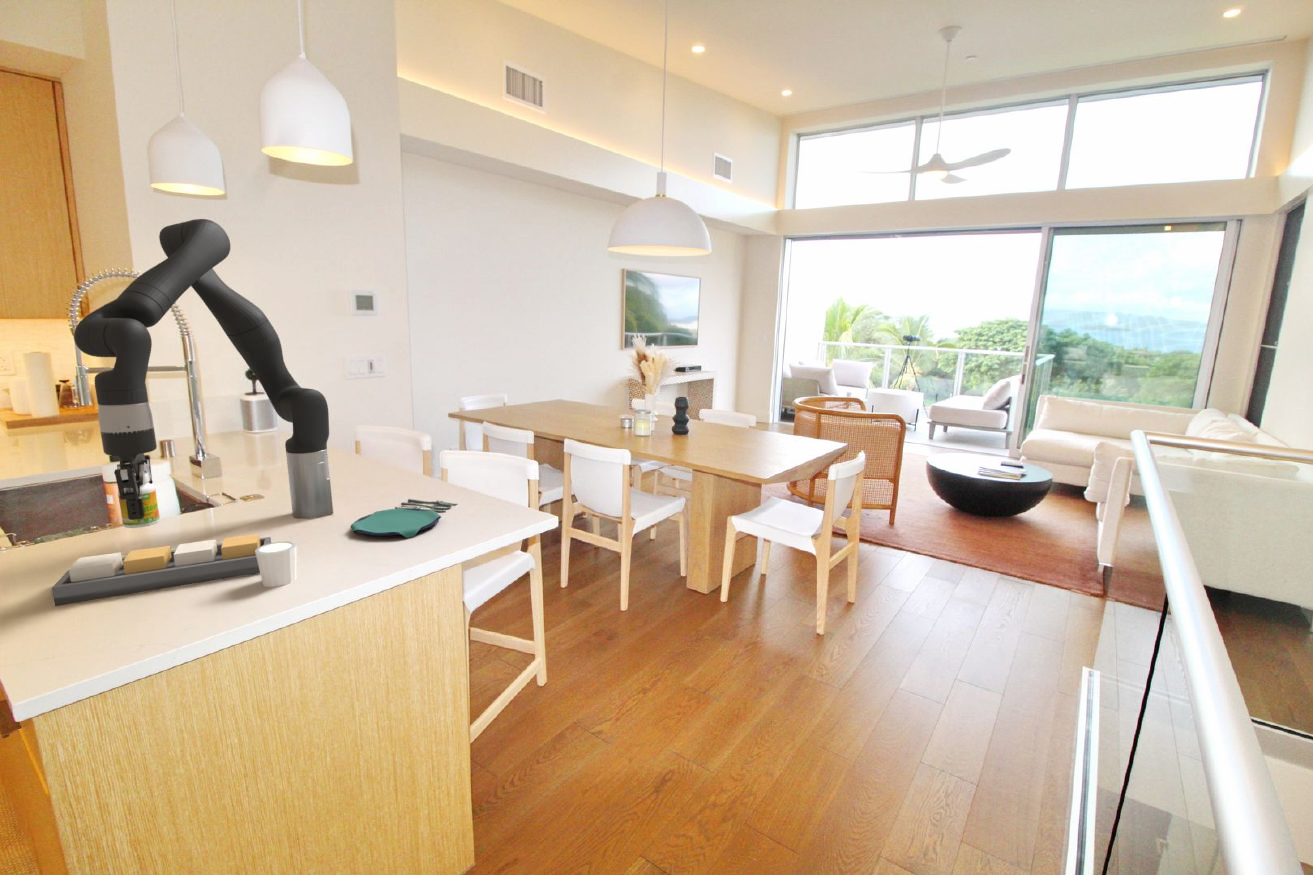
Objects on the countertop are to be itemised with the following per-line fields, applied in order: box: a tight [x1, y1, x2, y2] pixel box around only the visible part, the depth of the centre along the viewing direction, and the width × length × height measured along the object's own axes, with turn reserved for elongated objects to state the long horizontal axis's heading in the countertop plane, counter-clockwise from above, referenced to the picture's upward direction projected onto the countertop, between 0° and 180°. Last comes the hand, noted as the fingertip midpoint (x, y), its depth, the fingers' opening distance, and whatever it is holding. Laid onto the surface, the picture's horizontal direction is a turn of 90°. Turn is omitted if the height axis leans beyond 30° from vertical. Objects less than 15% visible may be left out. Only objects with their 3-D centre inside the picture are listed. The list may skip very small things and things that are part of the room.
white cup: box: [255, 541, 298, 588], centre depth 116 cm, size 7×7×7 cm
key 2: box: [174, 539, 217, 567], centre depth 120 cm, size 6×6×2 cm
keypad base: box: [51, 536, 272, 607], centre depth 118 cm, size 32×12×4 cm, turn 120°
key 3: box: [123, 545, 172, 574], centre depth 116 cm, size 6×6×2 cm
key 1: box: [221, 533, 261, 559], centre depth 123 cm, size 6×6×2 cm
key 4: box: [68, 551, 123, 582], centre depth 112 cm, size 6×6×2 cm
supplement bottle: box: [117, 473, 160, 529], centre depth 114 cm, size 5×5×10 cm
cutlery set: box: [350, 498, 458, 539], centre depth 154 cm, size 20×30×2 cm, turn 173°
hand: (140, 513), depth 114 cm, fingers closed on supplement bottle, 5 cm apart
